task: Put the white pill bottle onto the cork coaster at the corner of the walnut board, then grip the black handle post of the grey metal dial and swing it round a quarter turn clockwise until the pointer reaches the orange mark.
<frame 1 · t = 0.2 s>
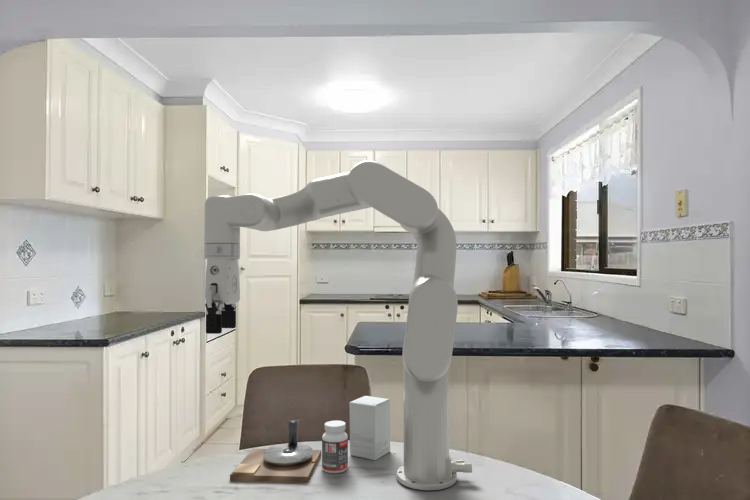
hand: (221, 330, 110), 31 cm above the table, tool pointing down, fingers open, 9 cm apart
supplement box: (370, 454, 121), on the table
dial board: (278, 467, 112), on the table
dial: (288, 441, 114), point 5 cm above the table, hinge at 0.0°
pill bottle: (334, 469, 111), on the table
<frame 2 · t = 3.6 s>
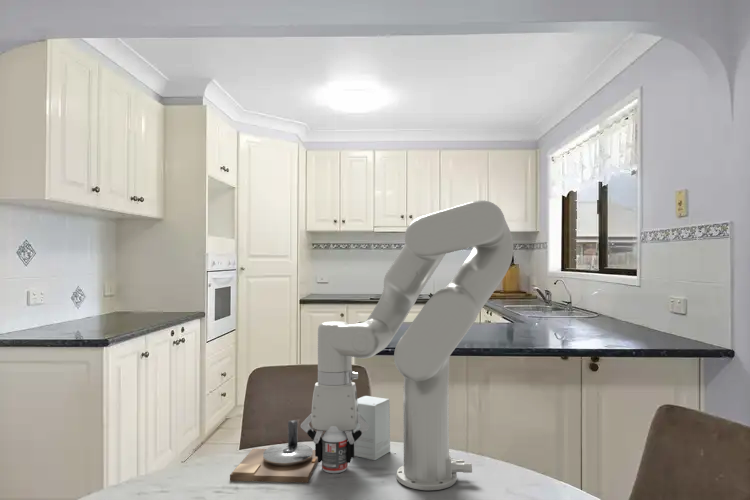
hand: (334, 459, 111), 2 cm above the table, tool pointing down, fingers closed on pill bottle, 5 cm apart
pill bottle: (334, 469, 111), on the table, touching gripper
everything else where it was.
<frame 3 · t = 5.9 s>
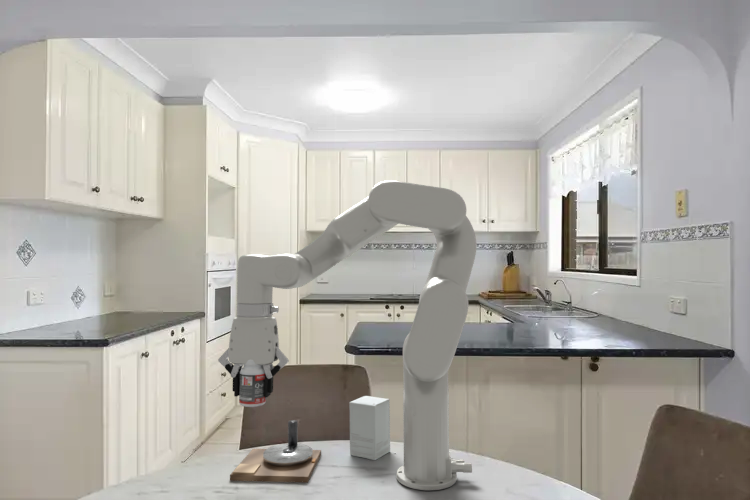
hand: (252, 394, 109), 17 cm above the table, tool pointing down, fingers closed on pill bottle, 5 cm apart
pill bottle: (252, 404, 109), point 15 cm above the table, touching gripper
everything else where it was.
when the fingers open (5 cm above the table, at t = 8.2 s): pill bottle drops 2 cm, resting on dial board.
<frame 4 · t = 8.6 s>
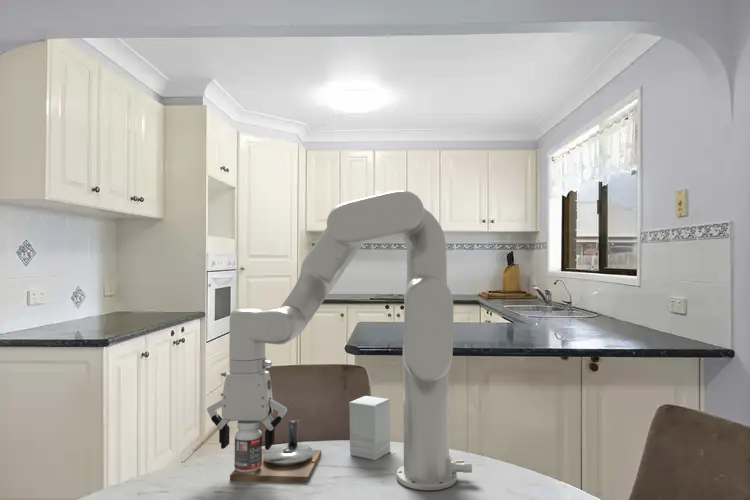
hand: (246, 446, 108), 6 cm above the table, tool pointing down, fingers open, 9 cm apart
pill bottle: (248, 468, 108), point 1 cm above the table, touching dial board
everything else where it was.
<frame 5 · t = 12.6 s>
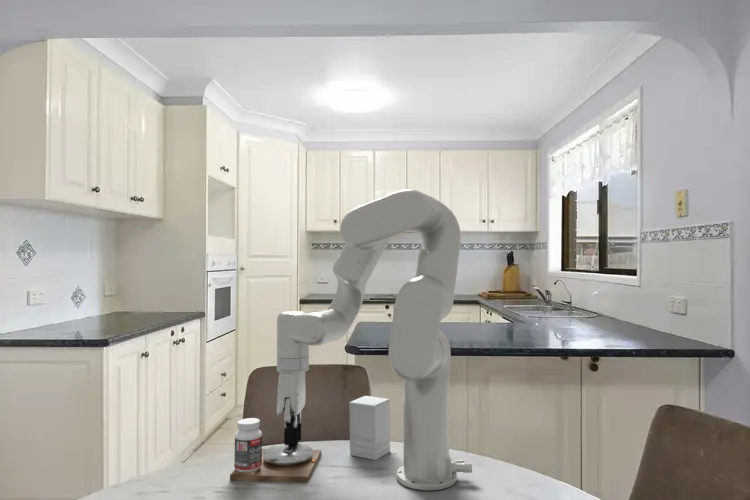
hand: (292, 441, 119), 3 cm above the table, tool pointing down, fingers closed on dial, 2 cm apart
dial: (288, 441, 114), point 5 cm above the table, hinge at 0.0°, touching gripper
everything else where it was.
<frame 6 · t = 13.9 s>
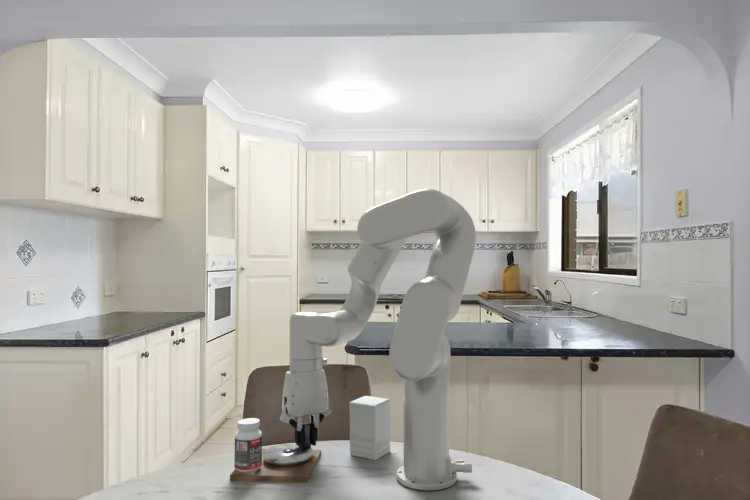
hand: (306, 444, 117), 3 cm above the table, tool pointing down, fingers closed on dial, 2 cm apart
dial: (288, 441, 114), point 5 cm above the table, hinge at -50.3°, touching gripper
everything else where it was.
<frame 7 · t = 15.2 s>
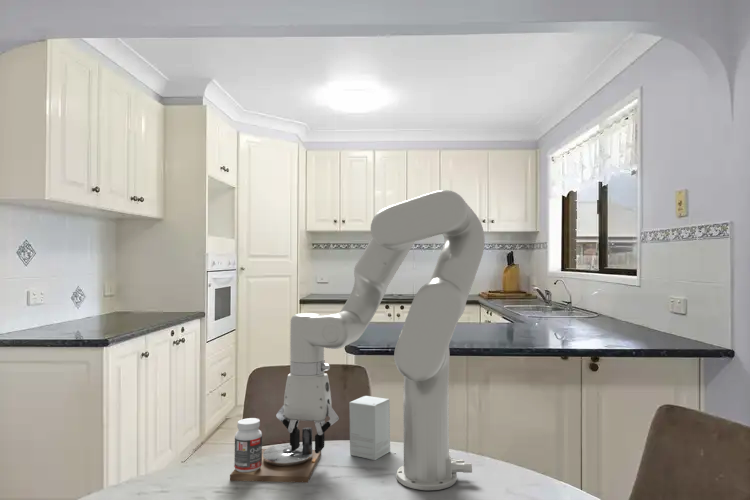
hand: (307, 449, 113), 4 cm above the table, tool pointing down, fingers open, 4 cm apart
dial: (288, 441, 114), point 5 cm above the table, hinge at -98.6°
everything else where it was.
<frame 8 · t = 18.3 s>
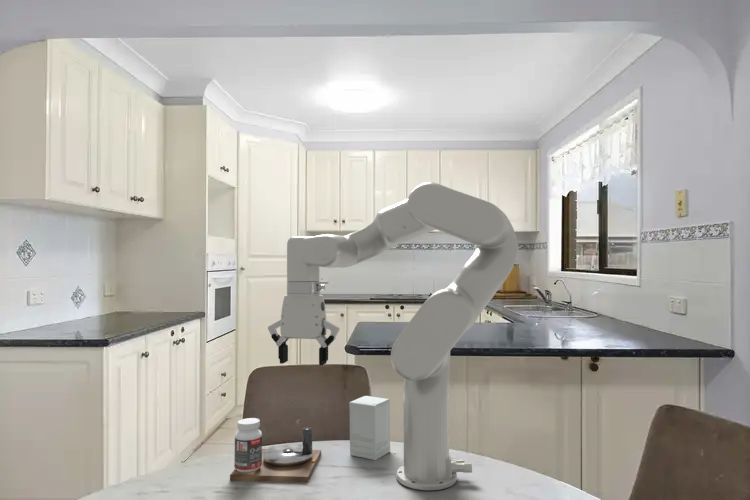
hand: (303, 363, 117), 22 cm above the table, tool pointing down, fingers open, 9 cm apart
nothing on the table moved.
at the end: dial at -99° (first picture: +0°); pill bottle 0.3 cm from the target spot, point 1.4 cm above the table; pill bottle tilted 0° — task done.
